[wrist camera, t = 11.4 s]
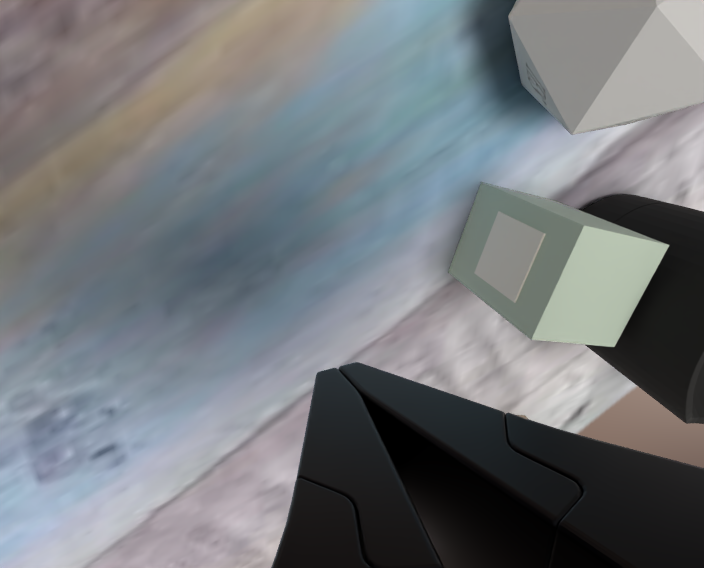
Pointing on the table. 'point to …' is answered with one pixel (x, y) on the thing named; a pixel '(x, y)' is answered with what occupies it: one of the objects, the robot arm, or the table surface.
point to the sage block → (553, 266)
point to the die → (610, 58)
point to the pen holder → (664, 306)
